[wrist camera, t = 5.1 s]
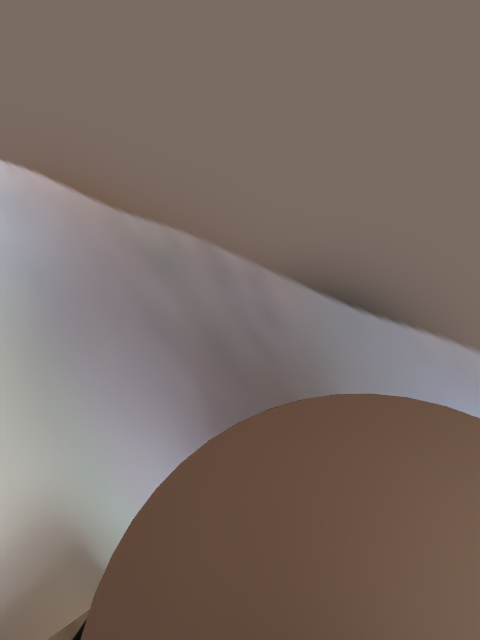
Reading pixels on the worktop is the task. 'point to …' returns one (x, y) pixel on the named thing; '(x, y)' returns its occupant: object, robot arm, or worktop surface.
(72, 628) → the tray
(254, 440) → the brown dome-top cylinder
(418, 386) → the worktop surface
